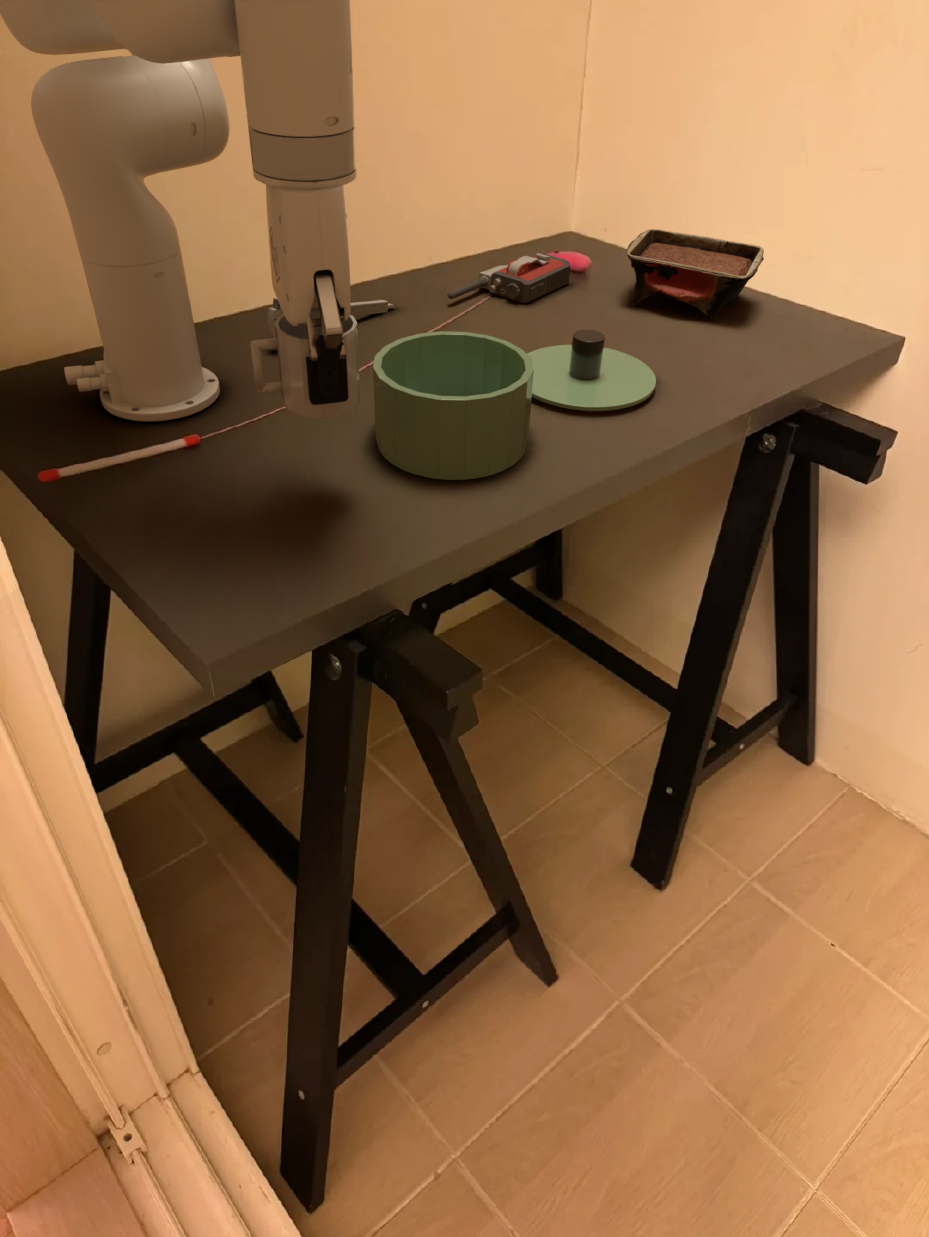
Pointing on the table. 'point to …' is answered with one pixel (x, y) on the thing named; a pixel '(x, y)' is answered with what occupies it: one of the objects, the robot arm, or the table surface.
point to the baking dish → (692, 268)
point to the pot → (452, 404)
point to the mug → (305, 368)
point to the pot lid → (589, 375)
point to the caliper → (356, 310)
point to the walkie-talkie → (521, 278)
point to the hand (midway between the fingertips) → (320, 380)
